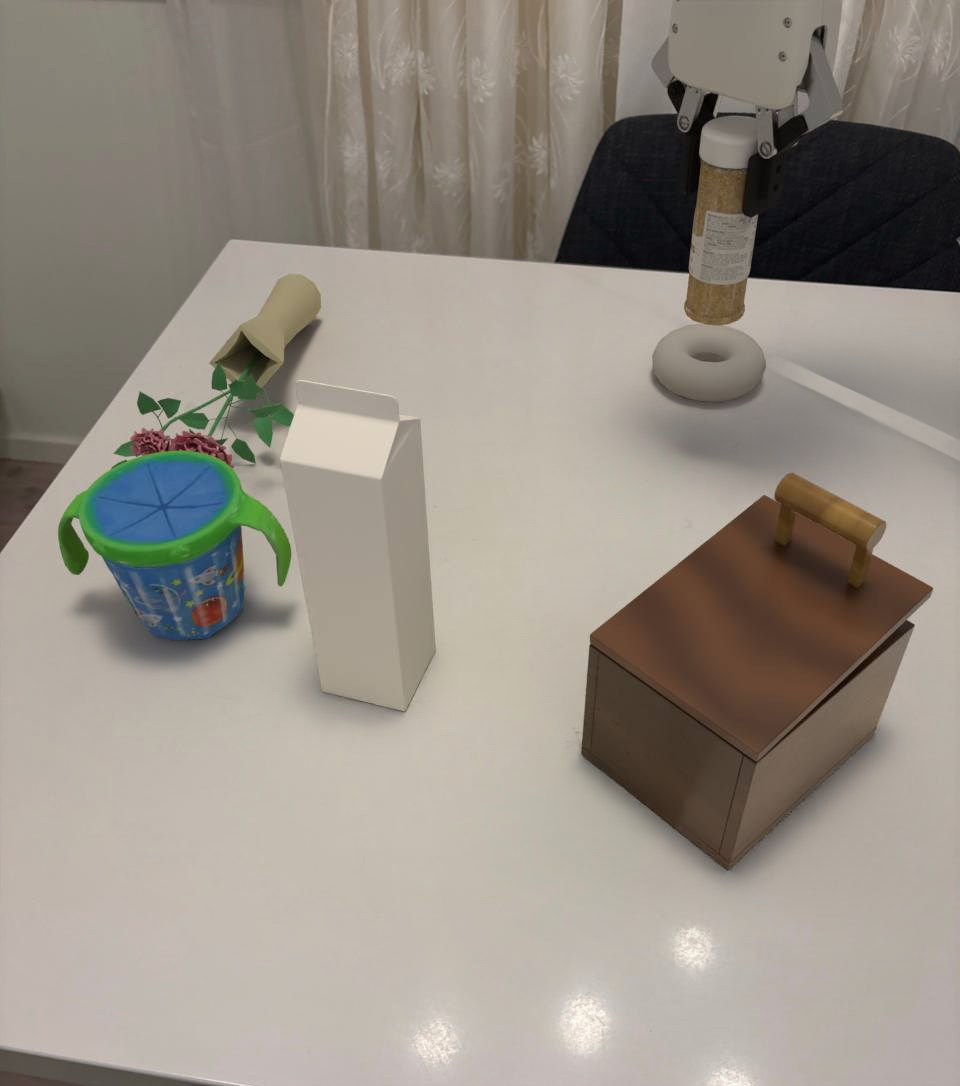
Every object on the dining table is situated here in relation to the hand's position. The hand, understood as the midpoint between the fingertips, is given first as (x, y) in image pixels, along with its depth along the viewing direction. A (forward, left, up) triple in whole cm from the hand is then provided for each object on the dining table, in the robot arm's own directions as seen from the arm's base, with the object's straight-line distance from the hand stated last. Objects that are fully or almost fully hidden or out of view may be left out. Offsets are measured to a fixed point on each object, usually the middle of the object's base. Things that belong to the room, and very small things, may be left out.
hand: (728, 196), depth 74 cm
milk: (+34, +2, -22) cm, 40 cm away
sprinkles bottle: (0, 0, -9) cm, 9 cm away
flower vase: (+23, -29, -22) cm, 43 cm away
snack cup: (+40, -12, -22) cm, 47 cm away
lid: (+22, +22, -11) cm, 33 cm away
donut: (-10, -6, -22) cm, 25 cm away
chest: (+22, +22, -21) cm, 38 cm away
